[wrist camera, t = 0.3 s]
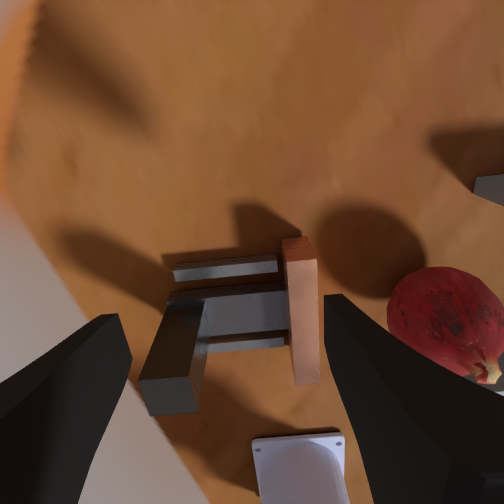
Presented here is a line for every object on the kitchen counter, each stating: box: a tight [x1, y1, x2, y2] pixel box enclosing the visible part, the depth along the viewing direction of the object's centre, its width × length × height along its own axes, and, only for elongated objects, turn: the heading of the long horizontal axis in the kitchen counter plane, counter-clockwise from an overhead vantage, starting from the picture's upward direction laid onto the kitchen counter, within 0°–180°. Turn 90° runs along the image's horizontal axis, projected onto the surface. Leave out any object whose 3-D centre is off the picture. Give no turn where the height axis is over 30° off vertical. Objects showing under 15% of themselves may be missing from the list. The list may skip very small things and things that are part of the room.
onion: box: [387, 267, 504, 384], centre depth 18 cm, size 6×6×8 cm
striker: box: [138, 236, 320, 416], centre depth 19 cm, size 9×9×7 cm
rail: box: [173, 254, 284, 353], centre depth 22 cm, size 7×6×1 cm
